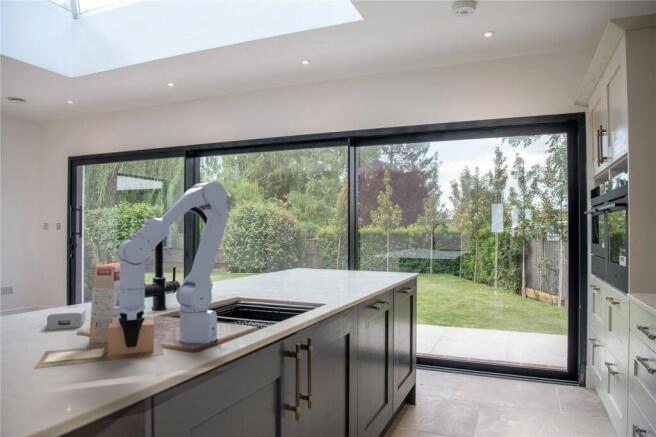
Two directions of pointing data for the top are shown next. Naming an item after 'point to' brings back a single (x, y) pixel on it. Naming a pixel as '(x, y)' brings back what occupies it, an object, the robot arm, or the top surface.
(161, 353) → the walnut board
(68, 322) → the charger
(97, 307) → the cracker box
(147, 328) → the terracotta cover
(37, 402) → the top surface
